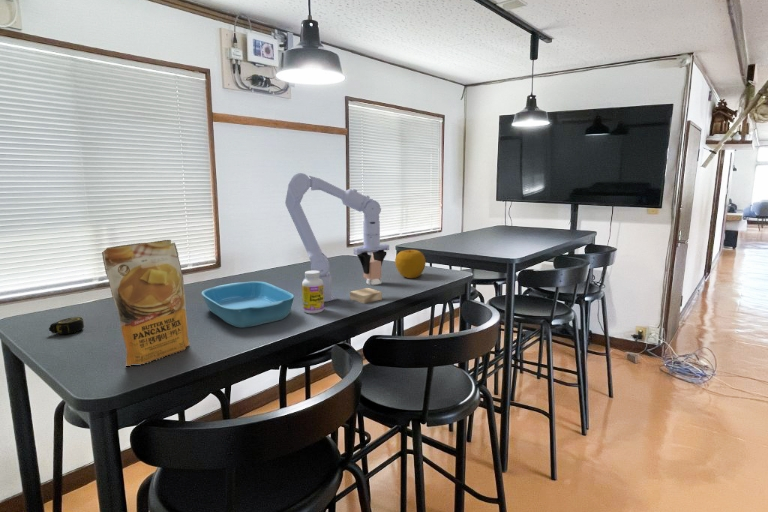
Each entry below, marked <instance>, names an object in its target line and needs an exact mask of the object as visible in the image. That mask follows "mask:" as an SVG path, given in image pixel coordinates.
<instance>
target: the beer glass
mask: <svg viewBox="0 0 768 512" xmlns="http://www.w3.org/2000/svg"><path fill="white" fill-rule="evenodd" d="M371 251H372V250H371ZM367 254H368V255H371V258H370V260H374V256H373V252H370V253H367ZM365 282H366V285H368V286H379V285H382V277H381V278H378V279H373V280H370V279H367V278H366V281H365Z"/></svg>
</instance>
